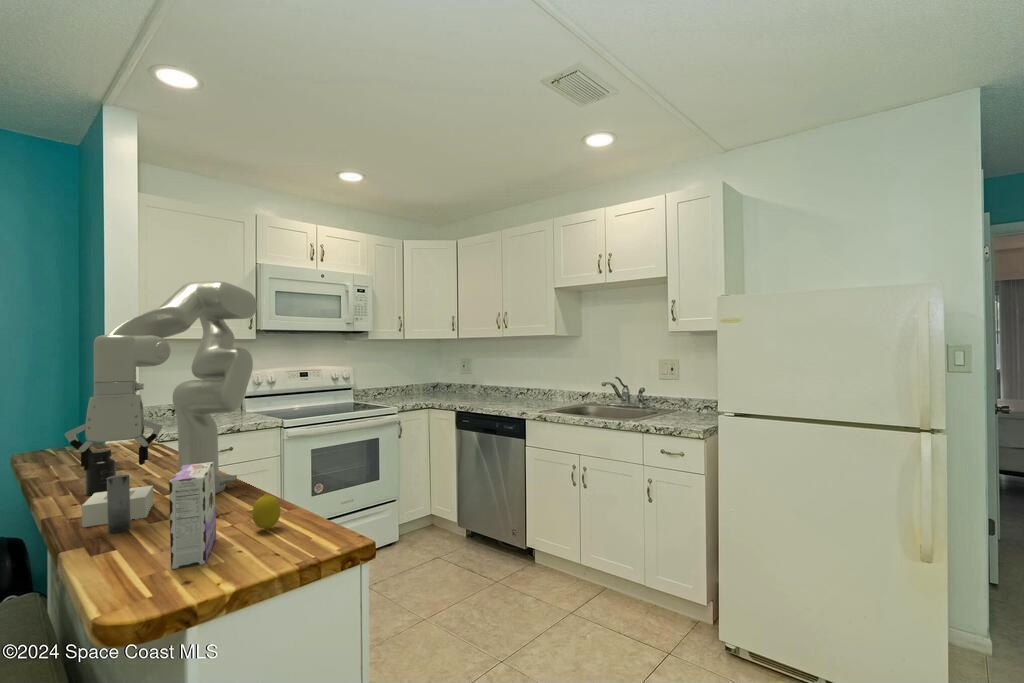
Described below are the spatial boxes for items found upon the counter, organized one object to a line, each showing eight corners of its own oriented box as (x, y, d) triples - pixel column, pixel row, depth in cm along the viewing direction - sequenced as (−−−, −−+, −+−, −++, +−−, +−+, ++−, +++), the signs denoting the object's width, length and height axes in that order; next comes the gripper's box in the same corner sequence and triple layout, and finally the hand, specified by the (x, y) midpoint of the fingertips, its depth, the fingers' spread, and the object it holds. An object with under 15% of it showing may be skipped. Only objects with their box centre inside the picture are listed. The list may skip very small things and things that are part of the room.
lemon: (275, 524, 115) (274, 488, 115) (284, 530, 111) (283, 493, 111) (249, 530, 111) (248, 494, 111) (257, 537, 107) (256, 499, 107)
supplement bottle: (79, 495, 143) (78, 452, 143) (105, 488, 150) (104, 447, 150) (97, 496, 141) (96, 453, 141) (122, 489, 148) (121, 448, 148)
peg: (132, 525, 117) (130, 473, 117) (128, 531, 113) (127, 477, 113) (110, 529, 115) (108, 476, 115) (106, 534, 111) (104, 480, 111)
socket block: (153, 504, 132) (152, 485, 132) (146, 517, 122) (145, 496, 122) (94, 512, 127) (94, 492, 127) (82, 527, 116) (81, 505, 116)
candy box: (184, 543, 105) (182, 464, 105) (217, 538, 107) (215, 460, 107) (169, 570, 92) (167, 479, 92) (207, 564, 94) (204, 475, 94)
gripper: (163, 387, 121) (164, 459, 121) (70, 391, 113) (70, 468, 112) (159, 388, 115) (160, 464, 114) (60, 392, 106) (59, 475, 106)
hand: (115, 466), depth 113 cm, fingers open, 9 cm apart
